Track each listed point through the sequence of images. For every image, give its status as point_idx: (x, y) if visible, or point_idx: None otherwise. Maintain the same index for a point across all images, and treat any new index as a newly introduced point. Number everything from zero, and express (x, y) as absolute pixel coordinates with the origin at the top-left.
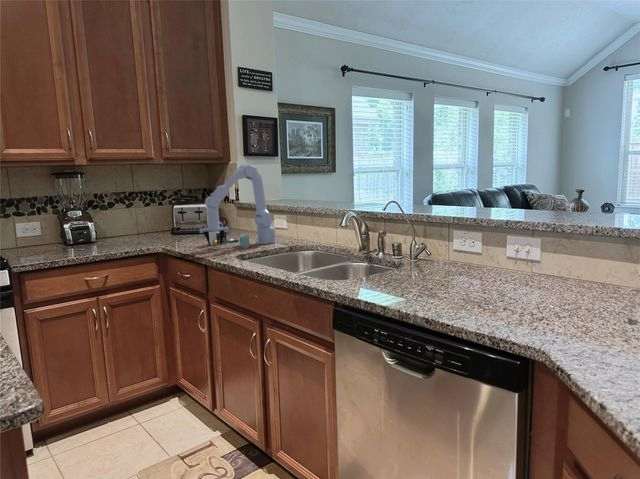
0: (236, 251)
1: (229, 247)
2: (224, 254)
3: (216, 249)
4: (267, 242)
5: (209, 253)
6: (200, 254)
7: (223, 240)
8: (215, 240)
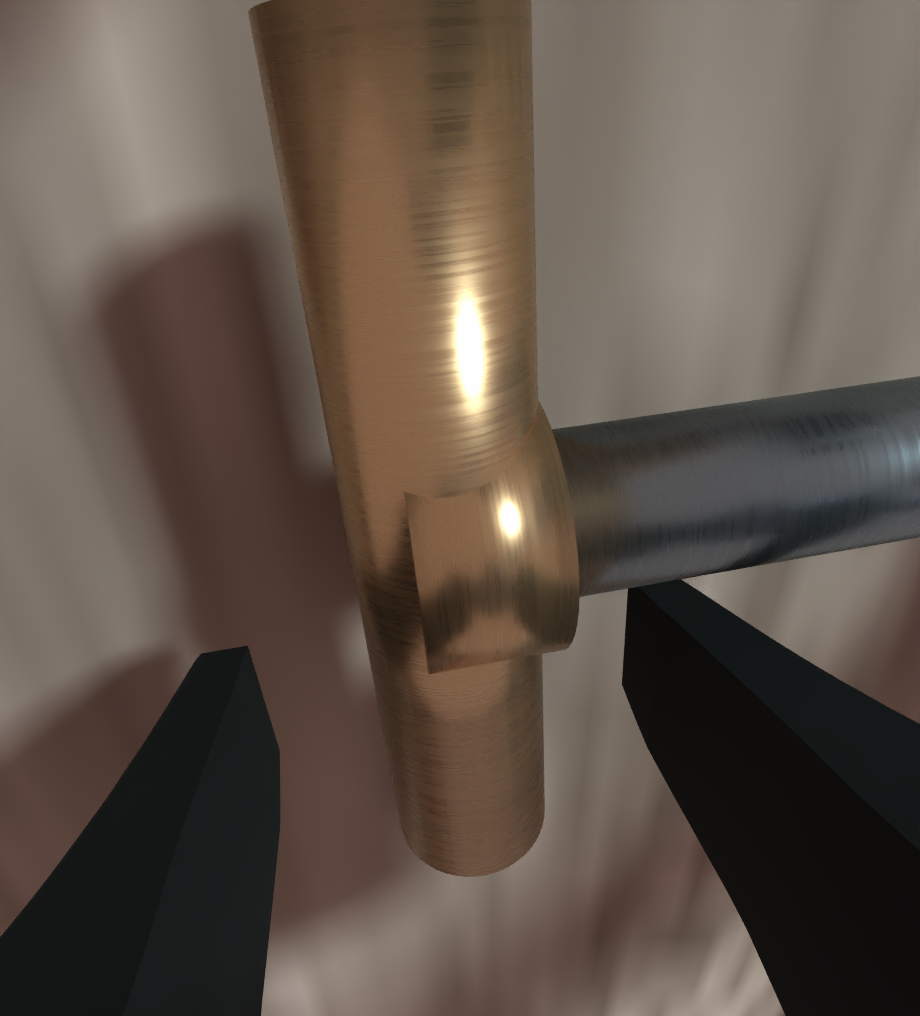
0: None
1: (871, 352)
2: (604, 987)
3: None
4: None
5: (326, 935)
6: None
7: (876, 538)
8: (511, 659)
